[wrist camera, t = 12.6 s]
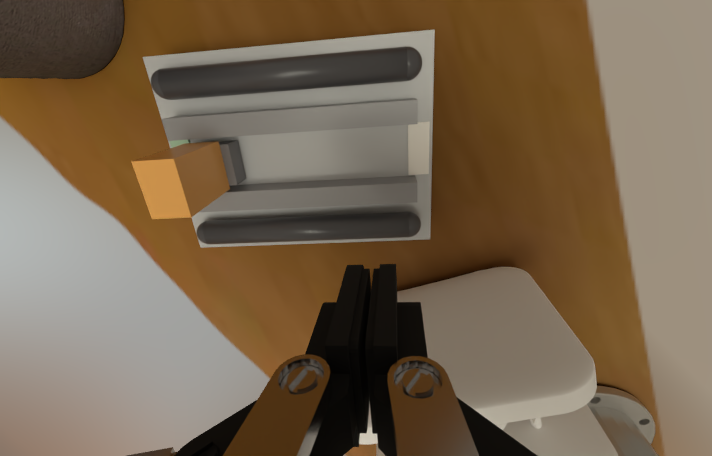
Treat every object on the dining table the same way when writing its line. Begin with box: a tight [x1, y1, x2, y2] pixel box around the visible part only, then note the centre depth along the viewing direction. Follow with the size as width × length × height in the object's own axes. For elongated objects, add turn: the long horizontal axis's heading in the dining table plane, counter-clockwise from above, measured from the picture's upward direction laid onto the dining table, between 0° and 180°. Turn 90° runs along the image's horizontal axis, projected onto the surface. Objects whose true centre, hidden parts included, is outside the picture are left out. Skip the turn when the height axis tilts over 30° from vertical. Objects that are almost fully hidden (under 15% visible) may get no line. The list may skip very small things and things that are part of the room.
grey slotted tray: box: [143, 30, 435, 247], centre depth 21 cm, size 12×16×5 cm
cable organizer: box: [359, 267, 618, 456], centre depth 23 cm, size 15×11×12 cm
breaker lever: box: [131, 140, 246, 219], centre depth 18 cm, size 3×3×6 cm
